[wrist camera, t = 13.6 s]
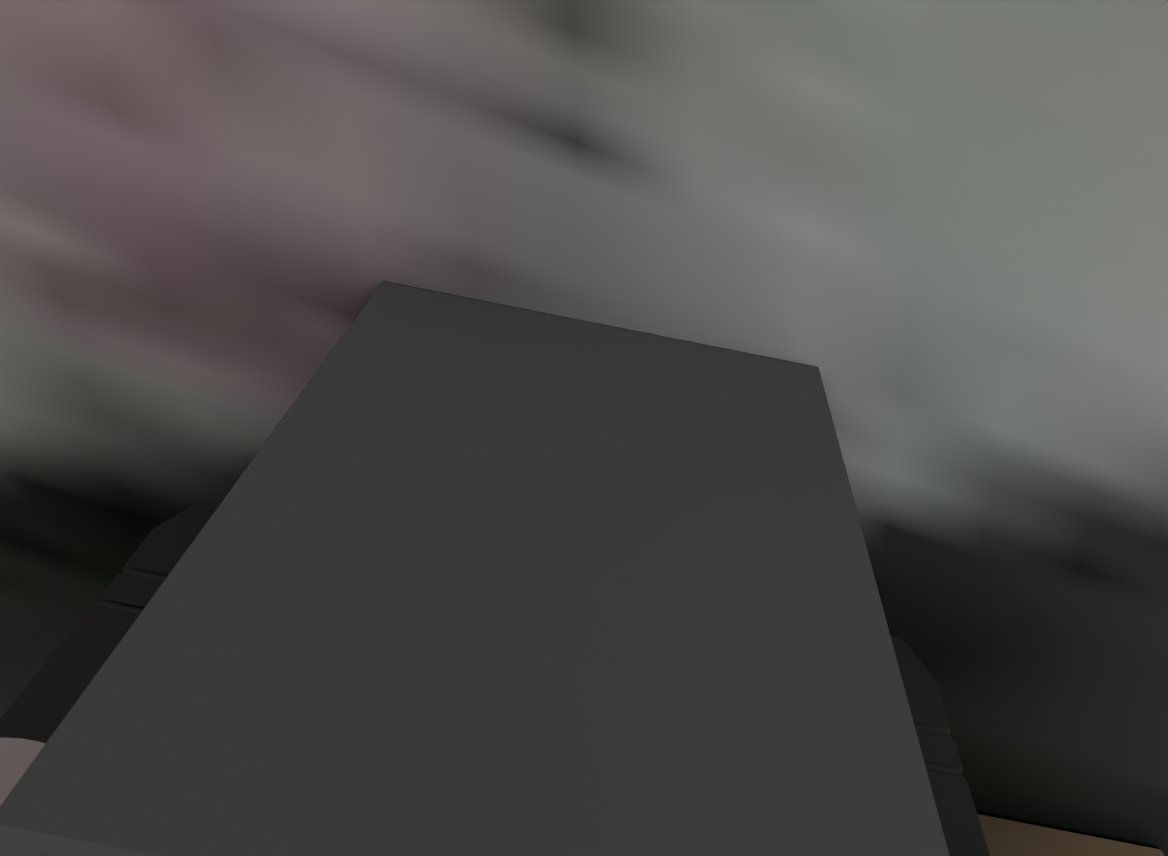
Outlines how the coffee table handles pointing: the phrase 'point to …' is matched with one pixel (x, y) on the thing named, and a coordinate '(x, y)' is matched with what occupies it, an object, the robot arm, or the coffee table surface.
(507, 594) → the block
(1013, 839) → the pin socket
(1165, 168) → the coffee table surface
